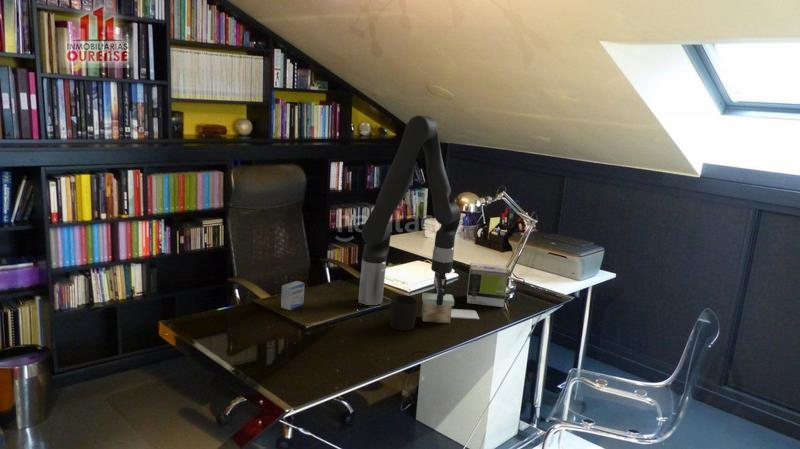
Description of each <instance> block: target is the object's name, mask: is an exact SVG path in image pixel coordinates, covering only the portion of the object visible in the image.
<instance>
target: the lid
mask: <svg viewBox="0 0 800 449" xmlns="http://www.w3.org/2000/svg"><path fill="white" fill-rule="evenodd" d="M421 293H422V296H421V298H422V299H421V300H422V304H423V303H424V304H430V305H437V304H436V301H437V294H434V292H433V293H432V292H421ZM442 305H445V306H452V307H454V306H455V299H454V296H453V295H452V294H450V293H449V294H447V293H445V296H443V304H442Z"/></svg>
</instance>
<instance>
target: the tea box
mask: <svg viewBox="0 0 800 449" xmlns="http://www.w3.org/2000/svg"><path fill="white" fill-rule="evenodd" d="M508 274H509V273H508V269H507V266H506V265H505V266H504V265H495V264H486V263H477V262H475V263H474V262H470V263H469V272H468V281H467V290H466V292H467V293H466V303H467V304H474V305H483V306H490V307H500V308H504V306H505V299H506V292H507V284H508V276H509V275H508Z"/></svg>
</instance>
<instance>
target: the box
mask: <svg viewBox="0 0 800 449" xmlns="http://www.w3.org/2000/svg"><path fill="white" fill-rule="evenodd" d="M421 309H422V310H421V320H422V322H424V323H425V322H426V323H427V322H428V323H440V324H451V319H452V318H451V311H452V309H453V306H445V305H430V304H424V303H423V302H422V308H421Z"/></svg>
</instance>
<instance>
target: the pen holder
mask: <svg viewBox="0 0 800 449" xmlns="http://www.w3.org/2000/svg"><path fill="white" fill-rule="evenodd" d="M418 305H419V302H418V301H417V300H416V299H415V297H414V296H412V295H406V294H397V295H394V296H392V297H391V299H390V312H389V313H390V314H389V315H390V316H389V318H390V320H389V326H390V327H391V328H392V329H394V330H396V331H403V332H407V331H412V330H413V329H414V328H415V325H416V324H415V323H416V319H417V311H418Z"/></svg>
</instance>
